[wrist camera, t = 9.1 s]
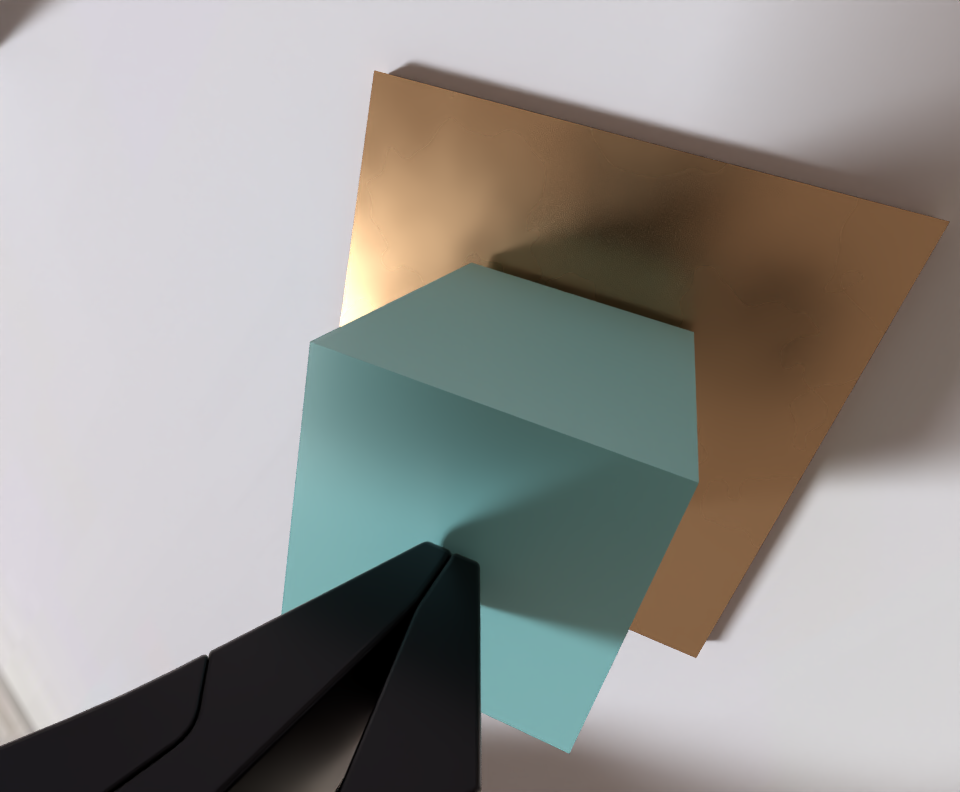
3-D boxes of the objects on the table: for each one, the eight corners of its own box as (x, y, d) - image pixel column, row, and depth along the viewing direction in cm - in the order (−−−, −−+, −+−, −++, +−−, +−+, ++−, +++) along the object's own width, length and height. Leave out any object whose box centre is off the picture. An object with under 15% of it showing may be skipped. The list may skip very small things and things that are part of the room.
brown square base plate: (695, 642, 17) (700, 928, 10) (327, 486, 19) (152, 646, 13) (937, 218, 11) (1232, 292, 5) (386, 73, 14) (137, 6, 7)
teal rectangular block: (615, 520, 15) (569, 753, 9) (430, 448, 16) (281, 617, 10) (693, 332, 13) (699, 482, 7) (471, 262, 14) (310, 341, 8)
